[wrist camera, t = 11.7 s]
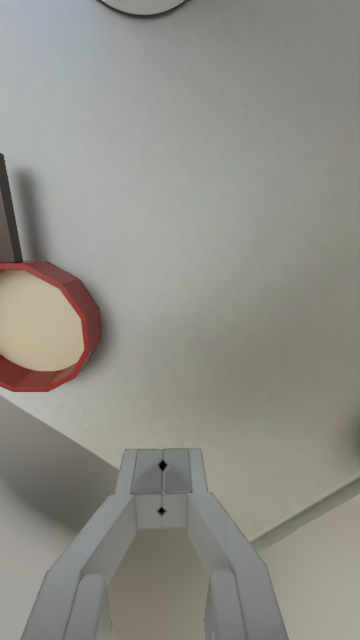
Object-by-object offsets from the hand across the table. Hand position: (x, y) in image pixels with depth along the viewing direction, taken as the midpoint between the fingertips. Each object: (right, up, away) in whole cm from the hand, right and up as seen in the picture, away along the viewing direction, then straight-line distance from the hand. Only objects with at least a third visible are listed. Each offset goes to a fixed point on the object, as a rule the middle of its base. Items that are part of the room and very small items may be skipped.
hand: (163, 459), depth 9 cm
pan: (-16, +10, +16) cm, 24 cm away
